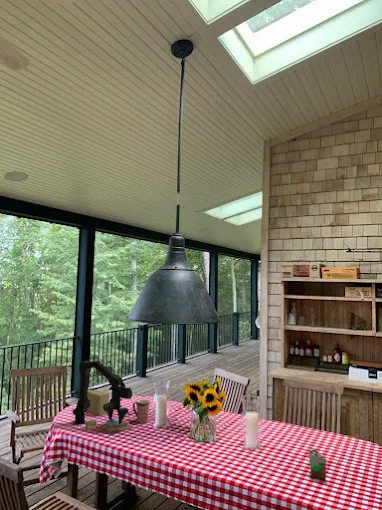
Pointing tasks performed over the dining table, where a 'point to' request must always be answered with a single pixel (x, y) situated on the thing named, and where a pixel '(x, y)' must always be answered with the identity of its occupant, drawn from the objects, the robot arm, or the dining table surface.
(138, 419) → the mug
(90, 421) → the tan rectangular block
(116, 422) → the grey block
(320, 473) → the food container
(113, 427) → the tray
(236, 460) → the dining table surface
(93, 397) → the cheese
